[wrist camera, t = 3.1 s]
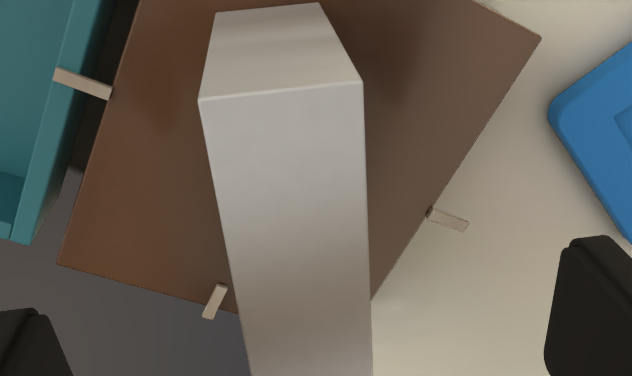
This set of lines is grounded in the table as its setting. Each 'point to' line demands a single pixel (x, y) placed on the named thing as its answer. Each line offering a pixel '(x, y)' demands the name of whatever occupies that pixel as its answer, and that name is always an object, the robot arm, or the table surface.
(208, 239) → the panel
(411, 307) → the table surface
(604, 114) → the handheld gaming device
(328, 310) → the white block
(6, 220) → the basin
